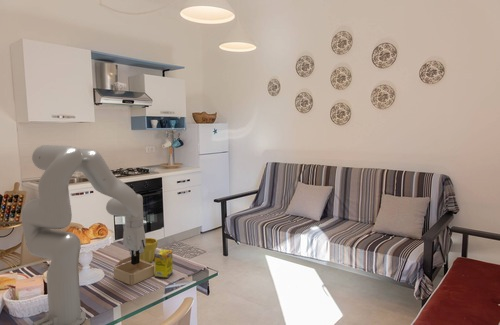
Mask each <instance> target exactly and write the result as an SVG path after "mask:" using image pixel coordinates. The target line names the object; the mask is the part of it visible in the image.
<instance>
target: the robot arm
mask: <svg viewBox="0 0 500 325" xmlns="http://www.w3.org/2000/svg"><path fill="white" fill-rule="evenodd" d="M31 155H32V156H31V157H32V158H31V159H32V163H33V165H34V166H35V167H36V168H37V169H39V170H42V171H44V172H43V173H42V175H41V177H40V178H39V181H38V185H37V186H38V188H37V189H38V190H37V191H38V197H36V198H32V199H30V200H29V201H27V202H26V204H24V206H23V208H22V210H21V216H20V217H21V226H22V231H23V237H24V242H25V246H26V250H27V251H28V252H29V254H30V255H32V256H34V257H37V258H43V259H47V260H50V263H49V266H48V268H47V271H46V288H47V290H46V291H47V306H48V307H47V308H48V311H47V312H45V313H44V314H45V316H43V317H42V318H41V319H38V320H36V321H34V322H33V323H32V325H81V324H83V323H85V320H86V318H87V314H86V312H85V311H84V310H83V309H82V308H81V294H80V292H81V291H80V273H79V272H80V269H79V261H80V254H81V247H82V246H81V245H82V243H81V239H80V237H79V236H78V235H76V234H75V233H73V232H71V231H66V230H62V229H65V228H66V227H69V225H70V224H71V222H72V219H73V218H72V217H73V216H72V206H71V198H70V191H69V184H70V181H71V178H72V177H73V175H74V174H75V172H79V173H82V174H83V175H84V176H85V178H86V180H88V182H89V184H91V186H92V187H93V189H94V190H95V191H97V192H98V193H100V194H102V195H105V196H107V197H109V198H111V199H109V200H108V202H107V203H106V205H105V209H106V212H107V213H108V214H109V215H112V216H116V217H124V227H123V234H122V245H123V247H124V248H125V249H127V250H128V251H129V254H130V257H131V261H130V262H131V264H133V265H135V264H138V263H140V253H143V252H144V248H145V246H146V240H145V238H146V233H145V227H144V226H145V225H144V204H143V203H144V199H143V196H142V195H141V194H139V193H137V192H135V191H134V189H133V188H131V187H130V186H129V185H128V184H126V183H125V182H123V181H122V180H121V179H118V177H116V176H115V175H114V173H113V171H112V170H111V168H110V167H109V165H108V164H107V162H106V161H105V159H104V158H103V156H102V154H100V152H99V151H97V150H95V149H92V148H77V147H75V146H71V145H55V144H54V145H53V144H50V145H49V144H45V145H44V144H43V145H40V146H38V147H36V149H34V150H33V153H32V154H31Z"/></svg>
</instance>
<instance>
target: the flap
mask: <svg viewBox="0 0 500 325" xmlns="http://www.w3.org/2000/svg"><path fill="white" fill-rule="evenodd" d="M140 254H141V253H140ZM128 262H131V256H129V257H126V258H123V259H121V260H119V261H118V262H117V263H116V264H115V265H114V267H118V266H120V265H123V264H126V263H128Z"/></svg>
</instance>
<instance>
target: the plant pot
mask: <svg viewBox="0 0 500 325" xmlns="http://www.w3.org/2000/svg"><path fill="white" fill-rule="evenodd" d="M145 240H146V246H145V248H144V252H143V253H141V254H140V260H143V261H146V262H149V263H151V262H153V261H155V253H156V250H157V248H158V239H156V238H154V237H153V238H152V237H145Z"/></svg>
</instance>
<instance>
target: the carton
mask: <svg viewBox="0 0 500 325" xmlns="http://www.w3.org/2000/svg"><path fill="white" fill-rule="evenodd" d="M153 276H154V277H155V263H151V262H146V261H143V260H140V263H138V264H135V265H133V264H131V261H128V262H126V263H123V264H121V265H118V266H114V267H113V279H115V280H118V281H120V282H122V283H125V284H127V285H130V286H134V285H136V284H139V283H140V282H143V281H145V280H147V279H149V278H151V277H153Z"/></svg>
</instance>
